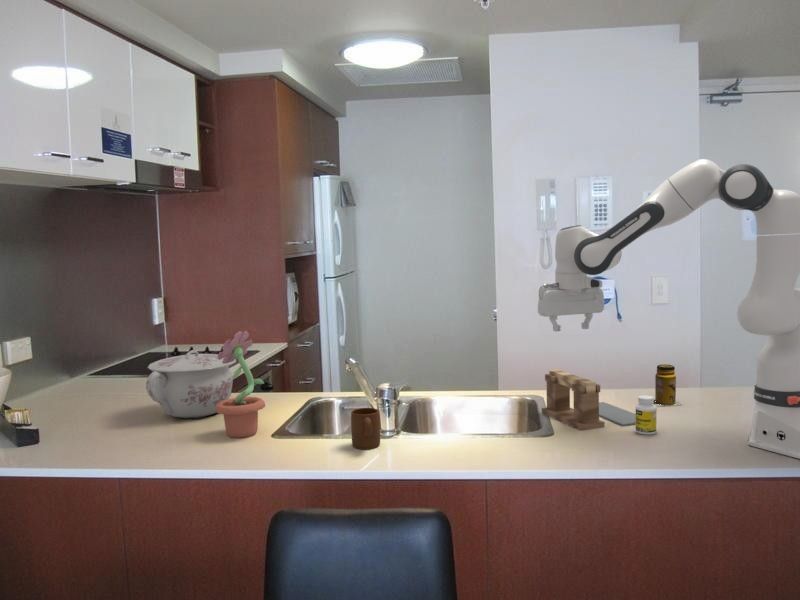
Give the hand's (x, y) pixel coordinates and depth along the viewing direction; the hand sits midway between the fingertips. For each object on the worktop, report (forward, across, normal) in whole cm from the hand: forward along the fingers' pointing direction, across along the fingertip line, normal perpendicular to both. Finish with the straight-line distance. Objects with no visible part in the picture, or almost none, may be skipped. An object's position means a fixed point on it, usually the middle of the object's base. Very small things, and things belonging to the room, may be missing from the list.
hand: (571, 329), depth 207 cm
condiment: (+27, +36, +5) cm, 45 cm away
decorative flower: (+27, -92, +26) cm, 99 cm away
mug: (+27, -63, -2) cm, 68 cm away
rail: (+15, 0, 0) cm, 15 cm away
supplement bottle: (+27, +11, -19) cm, 35 cm away
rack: (+27, 0, 0) cm, 27 cm away
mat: (+26, +14, 0) cm, 30 cm away
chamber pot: (+27, -104, +57) cm, 122 cm away
